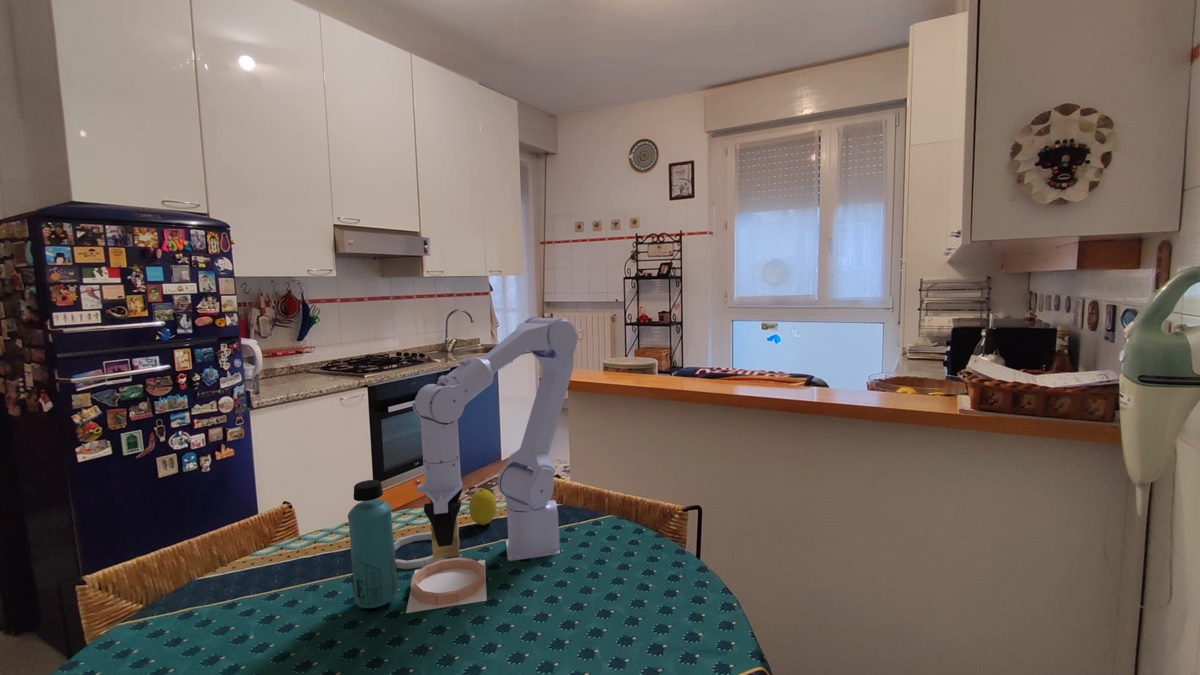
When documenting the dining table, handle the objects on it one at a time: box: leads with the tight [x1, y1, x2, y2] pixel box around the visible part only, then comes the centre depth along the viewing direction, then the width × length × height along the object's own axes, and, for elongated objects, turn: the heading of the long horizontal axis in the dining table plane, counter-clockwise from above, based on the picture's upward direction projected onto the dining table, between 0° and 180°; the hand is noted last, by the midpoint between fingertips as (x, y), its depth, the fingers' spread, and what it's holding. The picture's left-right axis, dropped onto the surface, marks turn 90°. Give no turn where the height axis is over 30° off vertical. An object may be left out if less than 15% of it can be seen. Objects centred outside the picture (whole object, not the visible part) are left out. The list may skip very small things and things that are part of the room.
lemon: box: [468, 488, 497, 526], centre depth 112 cm, size 6×6×8 cm
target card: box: [405, 559, 488, 614], centre depth 89 cm, size 12×13×1 cm
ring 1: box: [394, 531, 444, 570], centre depth 100 cm, size 12×12×2 cm
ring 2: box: [410, 556, 485, 605], centre depth 89 cm, size 12×12×2 cm
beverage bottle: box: [347, 479, 399, 609], centre depth 83 cm, size 6×7×20 cm
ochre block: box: [430, 515, 460, 559], centre depth 88 cm, size 4×4×7 cm
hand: (446, 538), depth 88 cm, fingers closed on ochre block, 4 cm apart
